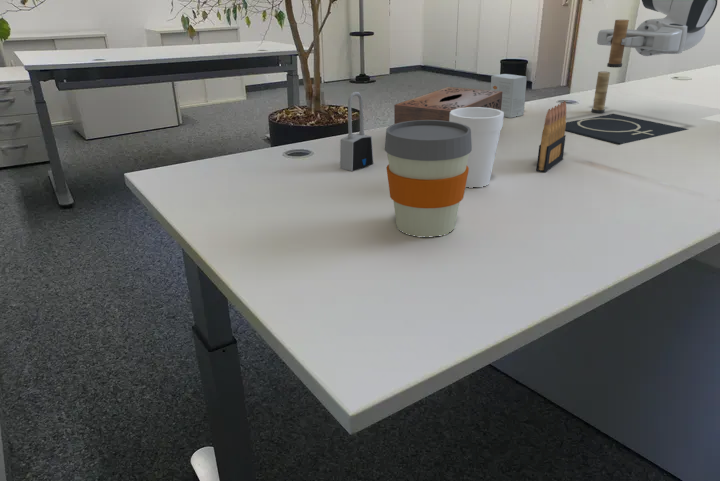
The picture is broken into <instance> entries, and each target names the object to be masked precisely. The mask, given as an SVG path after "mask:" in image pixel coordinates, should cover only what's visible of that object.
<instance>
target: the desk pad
mask: <svg viewBox="0 0 720 481" xmlns="http://www.w3.org/2000/svg"><path fill="white" fill-rule="evenodd" d="M688 130H689V128H685V127H682V126H681V127H680V126H676V125H671V124H667V123H660V122H657V121H651V120H646V119H641V118H637V117H632V116H626V115H621V114H618V113H610V114H604V115H599V116H592V117H588V118H582V119H576V120H571V121H566V127H565V132H568V133H571V134H575V135H579V136H583V137H588V138H591V139H595V140H599V141H603V142H608V143H611V144H615V145H619V146H620V145H625V144H629V143H634V142H638V141H642V140H647V139H652V138H656V137H661V136H665V135H670V134H674V133H678V132H683V131H688Z"/></svg>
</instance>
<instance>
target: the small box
mask: <svg viewBox="0 0 720 481" xmlns="http://www.w3.org/2000/svg"><path fill="white" fill-rule="evenodd" d="M490 78H491V79H490V90H492V91H503V93H502V105H501V111H502V112H504V118H509V119H511V118H516V116H517V117H520V116H524V114H525V104H526V90H527V79H528V77H527V76H525V75H517V74H511V73H500V74H494V75H491V77H490Z"/></svg>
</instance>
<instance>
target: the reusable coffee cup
mask: <svg viewBox="0 0 720 481" xmlns="http://www.w3.org/2000/svg"><path fill="white" fill-rule="evenodd" d="M471 151H472V142H471V129H470V128H469V127H468V126H466V125H463V124H460V123H456V122H450V121H440V120H416V121H406V122H401V123H397V124H391V125H389V126H388V127H387V128H386V130H385V138H384V152H386V154H387V162H388V164H387V165H386V175H387V183H388V190H389V198H390V199H391V200H392V201H393V207H394V216H395V223H396V228H397V227H398V228H397V230H398V229H399V230H401V231H403V232H404V233H407V234H410V235H415V236H425V237H429V236H439V235H444V234H447V233H449V232H451V231H452V230H453V229H454V228H455V229H456V223H457V218H458V213H459V207H460V202H462V201H463V199H464V196H465V191H466V187H465V186H466V181H467V176H468V171H469V168H468V166H467V161H468V155H469V153H470V152H471ZM455 229H454V230H455ZM399 230H398V231H399ZM454 230H453V231H454ZM453 231H452V232H453ZM452 232H451V233H452ZM404 233H403V234H404ZM449 234H450V233H449ZM447 235H448V234H447ZM444 236H445V235H444Z"/></svg>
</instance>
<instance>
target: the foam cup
mask: <svg viewBox="0 0 720 481" xmlns="http://www.w3.org/2000/svg"><path fill="white" fill-rule="evenodd" d="M504 118H505V117H504V112H502V111H500V110H497V109H492V108H483V107H466V108H457V109H454V110H451V112H450V116H449V121H450V122H456V123H460V124H463V125H466V126H468V127H469V128H470V129H471V142H472V151H471V152H470V153H469V155H468V161H467V166H468V168H469V171H468V176H467V181H466V186H465V188H466V187H469V188H468V189H474V188H473V187H482V188H484V187H483V186H486V185H488V184H489V185H490V181H491V178H492V171H493V167H494V163H495V158H496V154H497V149H498V145H499V140H500V135H501V130H502V129H503V127H504ZM489 185H488V186H489ZM486 187H487V186H486Z"/></svg>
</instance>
